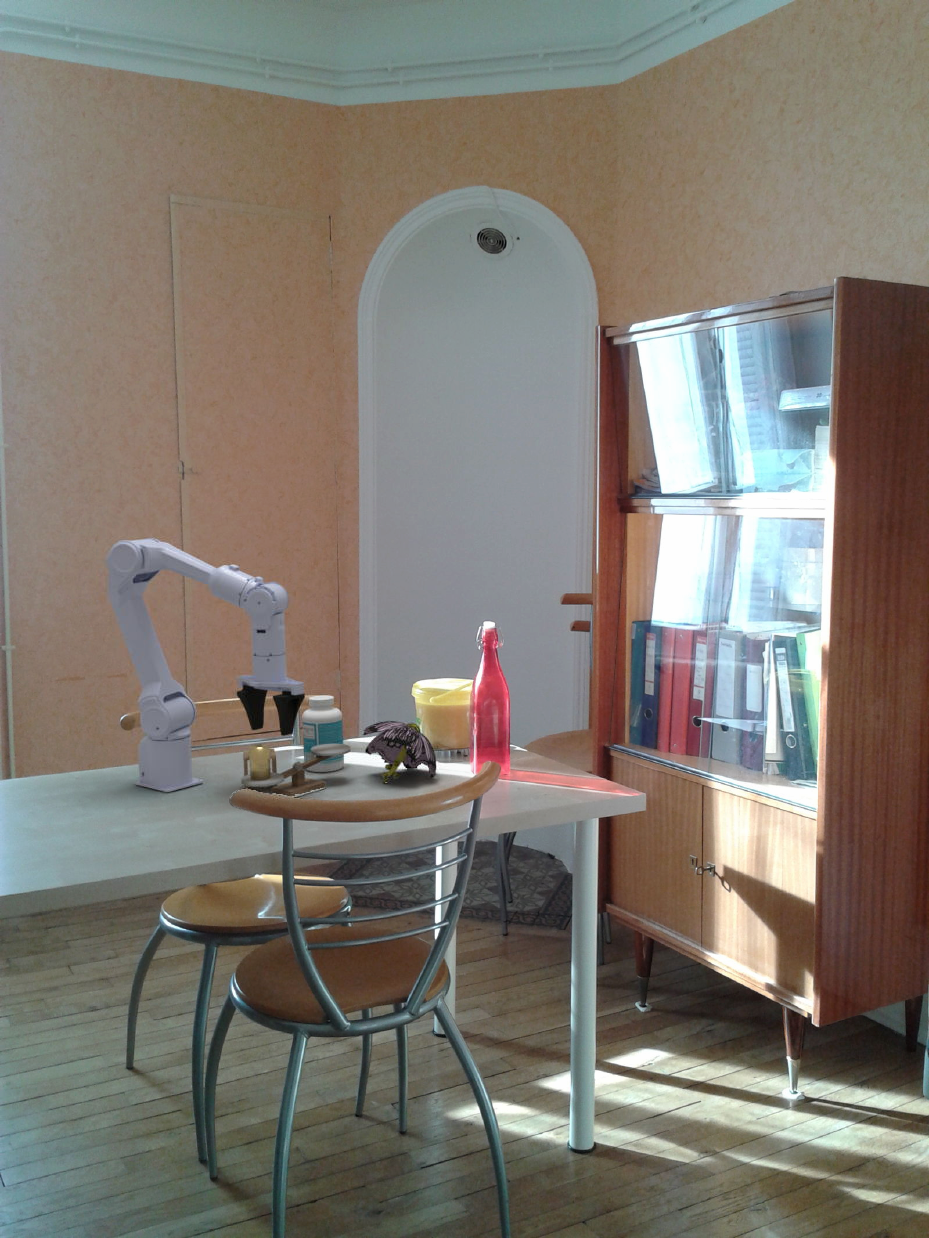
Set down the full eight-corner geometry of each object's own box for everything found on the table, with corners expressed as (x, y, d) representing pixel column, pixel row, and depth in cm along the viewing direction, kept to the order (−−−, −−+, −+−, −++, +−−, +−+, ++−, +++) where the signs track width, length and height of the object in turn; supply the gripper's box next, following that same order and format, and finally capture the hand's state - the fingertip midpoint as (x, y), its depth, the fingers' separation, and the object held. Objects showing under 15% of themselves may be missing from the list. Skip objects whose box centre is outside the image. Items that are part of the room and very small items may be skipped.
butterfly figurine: (460, 727, 197) (379, 709, 192) (448, 792, 194) (366, 775, 190) (433, 733, 210) (358, 717, 206) (422, 795, 207) (345, 779, 203)
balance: (233, 803, 186) (231, 767, 186) (331, 774, 204) (330, 741, 203) (261, 810, 182) (260, 773, 181) (359, 780, 200) (358, 746, 199)
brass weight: (246, 778, 186) (245, 746, 186) (264, 774, 188) (263, 743, 188) (256, 781, 184) (255, 749, 183) (274, 778, 186) (273, 746, 185)
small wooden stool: (245, 793, 193) (244, 757, 192) (244, 785, 198) (243, 750, 197) (277, 790, 194) (276, 755, 193) (275, 782, 199) (273, 748, 198)
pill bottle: (347, 763, 212) (345, 693, 211) (339, 773, 205) (337, 701, 203) (309, 763, 213) (306, 693, 211) (299, 773, 206) (297, 701, 204)
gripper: (223, 653, 192) (226, 730, 194) (280, 660, 184) (283, 741, 185) (254, 648, 198) (257, 723, 200) (311, 654, 189) (314, 733, 191)
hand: (272, 731), depth 193 cm, fingers open, 7 cm apart
